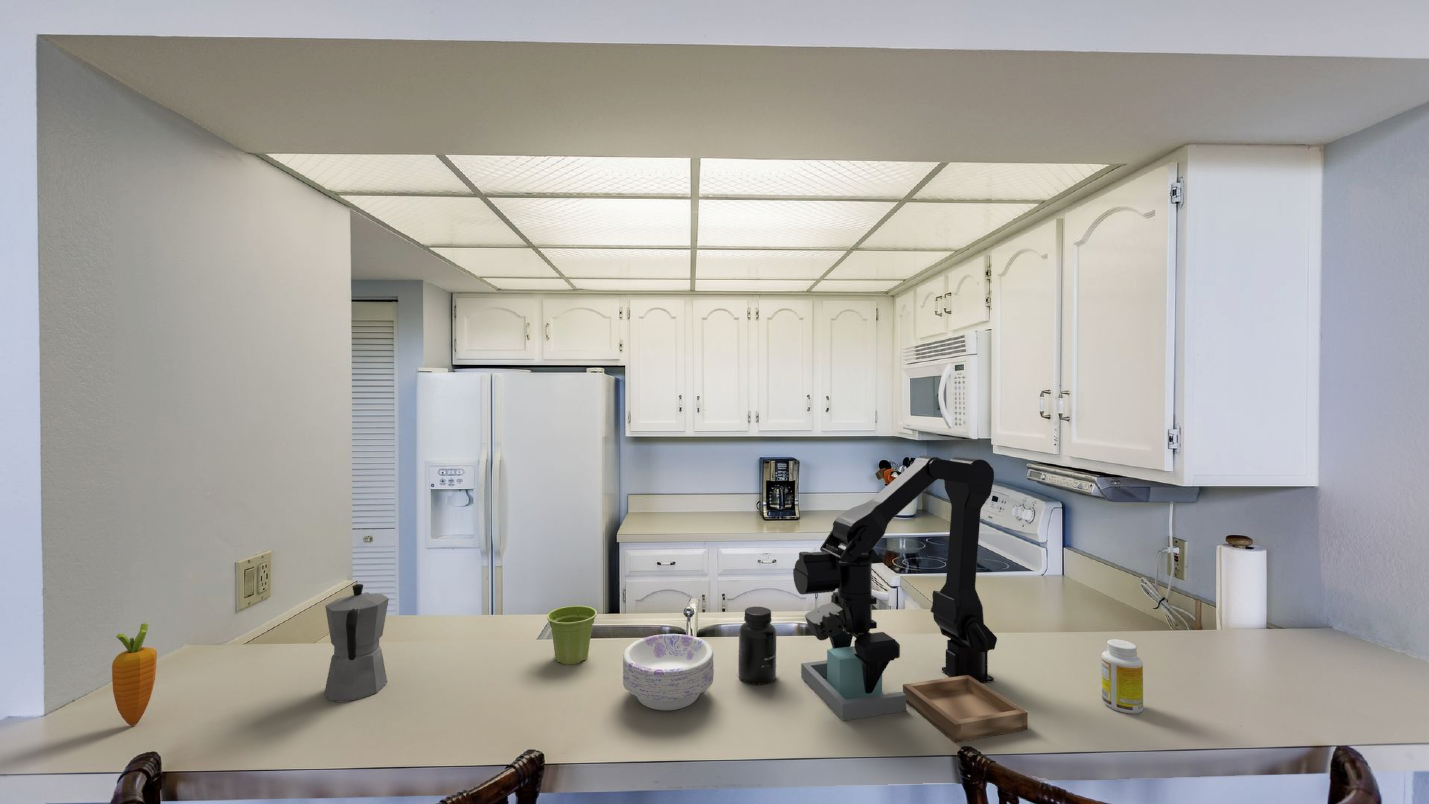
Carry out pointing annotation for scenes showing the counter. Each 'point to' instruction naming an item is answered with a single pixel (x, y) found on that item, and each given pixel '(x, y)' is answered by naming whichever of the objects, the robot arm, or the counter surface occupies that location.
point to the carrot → (133, 676)
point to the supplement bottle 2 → (1122, 677)
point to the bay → (851, 707)
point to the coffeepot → (356, 645)
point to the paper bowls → (668, 670)
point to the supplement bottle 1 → (757, 647)
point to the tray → (965, 708)
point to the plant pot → (571, 632)
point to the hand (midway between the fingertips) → (854, 680)
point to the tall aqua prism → (848, 674)
